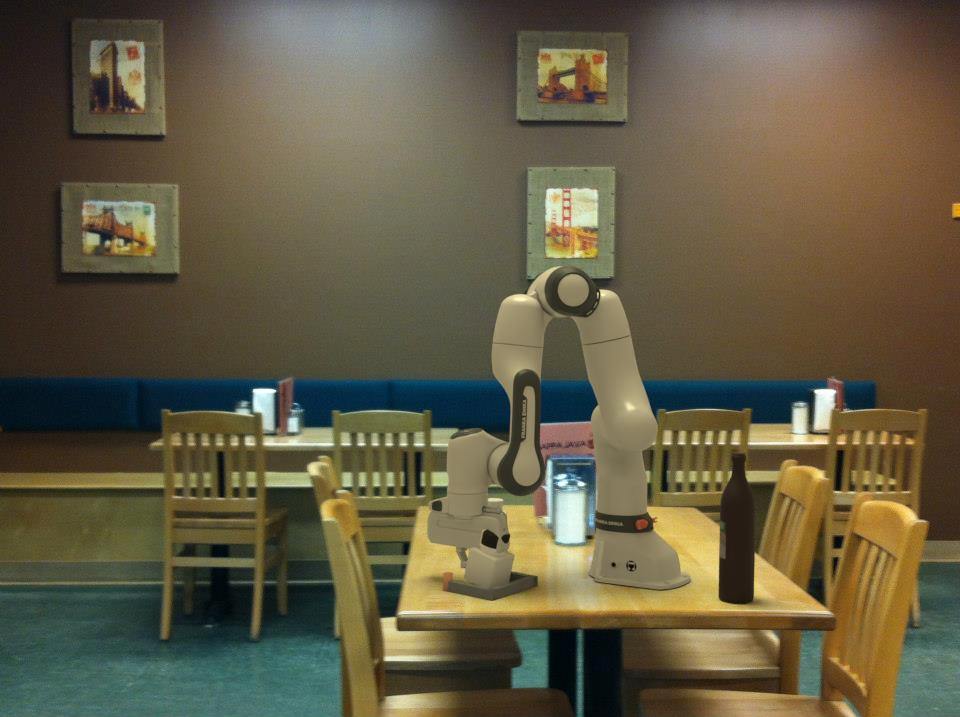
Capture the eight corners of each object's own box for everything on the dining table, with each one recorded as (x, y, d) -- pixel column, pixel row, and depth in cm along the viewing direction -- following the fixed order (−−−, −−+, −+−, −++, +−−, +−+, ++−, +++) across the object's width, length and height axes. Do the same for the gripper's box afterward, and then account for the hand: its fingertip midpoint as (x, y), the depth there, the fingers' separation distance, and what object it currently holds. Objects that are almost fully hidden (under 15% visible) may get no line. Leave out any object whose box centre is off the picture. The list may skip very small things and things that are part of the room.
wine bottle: (733, 593, 226) (736, 450, 225) (761, 600, 220) (764, 454, 219) (711, 598, 222) (713, 452, 221) (738, 605, 216) (741, 456, 215)
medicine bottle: (508, 585, 231) (520, 532, 229) (488, 592, 225) (500, 538, 223) (483, 572, 235) (494, 520, 233) (462, 578, 229) (473, 525, 227)
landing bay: (538, 585, 231) (538, 569, 231) (491, 600, 218) (491, 583, 218) (489, 575, 239) (489, 559, 239) (441, 590, 226) (441, 573, 226)
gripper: (515, 507, 228) (516, 572, 229) (441, 497, 241) (441, 559, 241) (497, 511, 223) (498, 578, 224) (422, 502, 236) (423, 564, 236)
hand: (468, 568), depth 233 cm, fingers closed
